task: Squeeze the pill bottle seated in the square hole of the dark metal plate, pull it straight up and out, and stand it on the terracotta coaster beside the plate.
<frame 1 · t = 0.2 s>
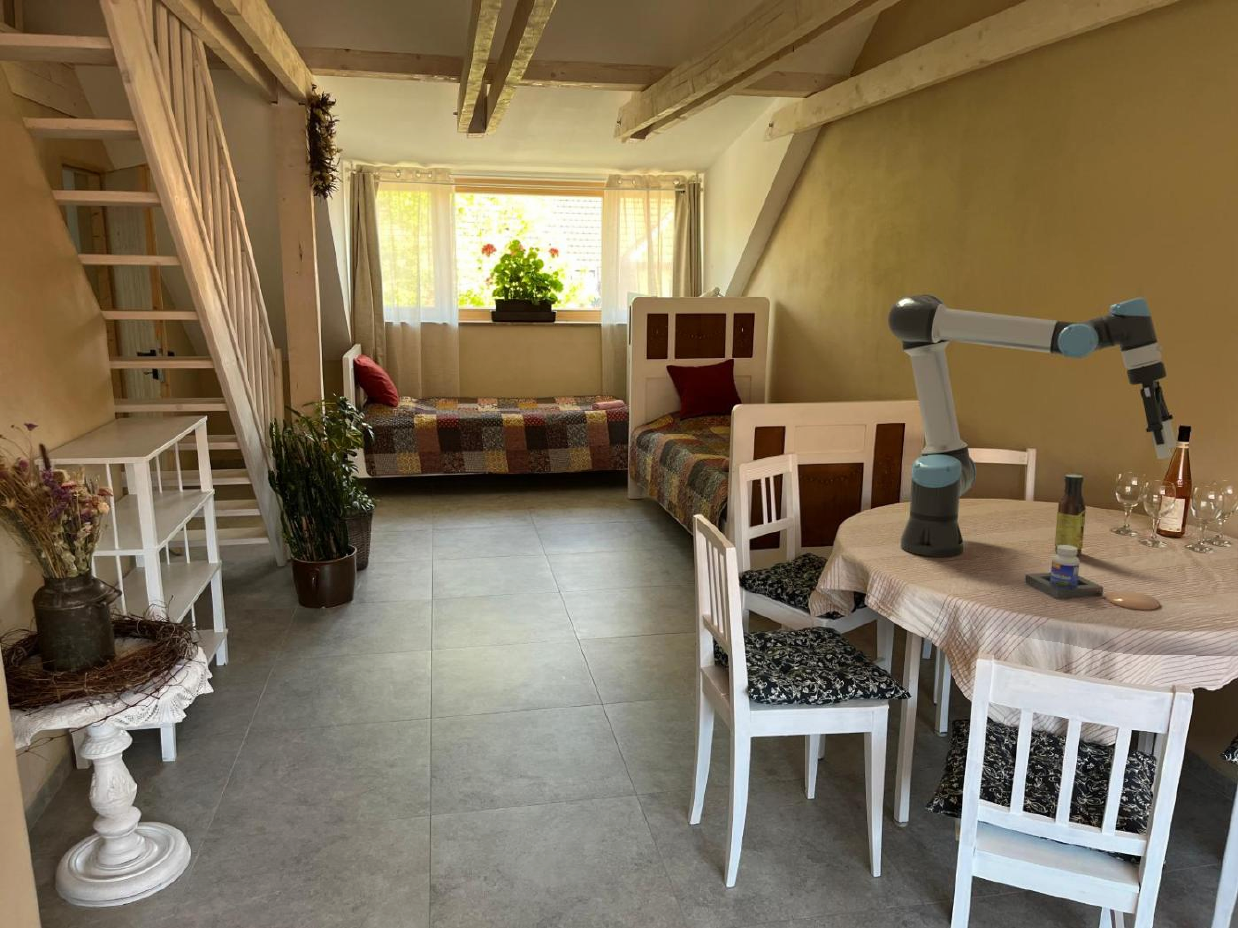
hand: (1167, 453, 206), 28 cm above the table, tool tilted 20°, fingers open, 13 cm apart
sauce bottle: (1067, 553, 222), on the table
pill bottle: (1062, 590, 196), resting in socket plate
socket plate: (1062, 589, 196), on the table
coaster: (1132, 601, 188), on the table
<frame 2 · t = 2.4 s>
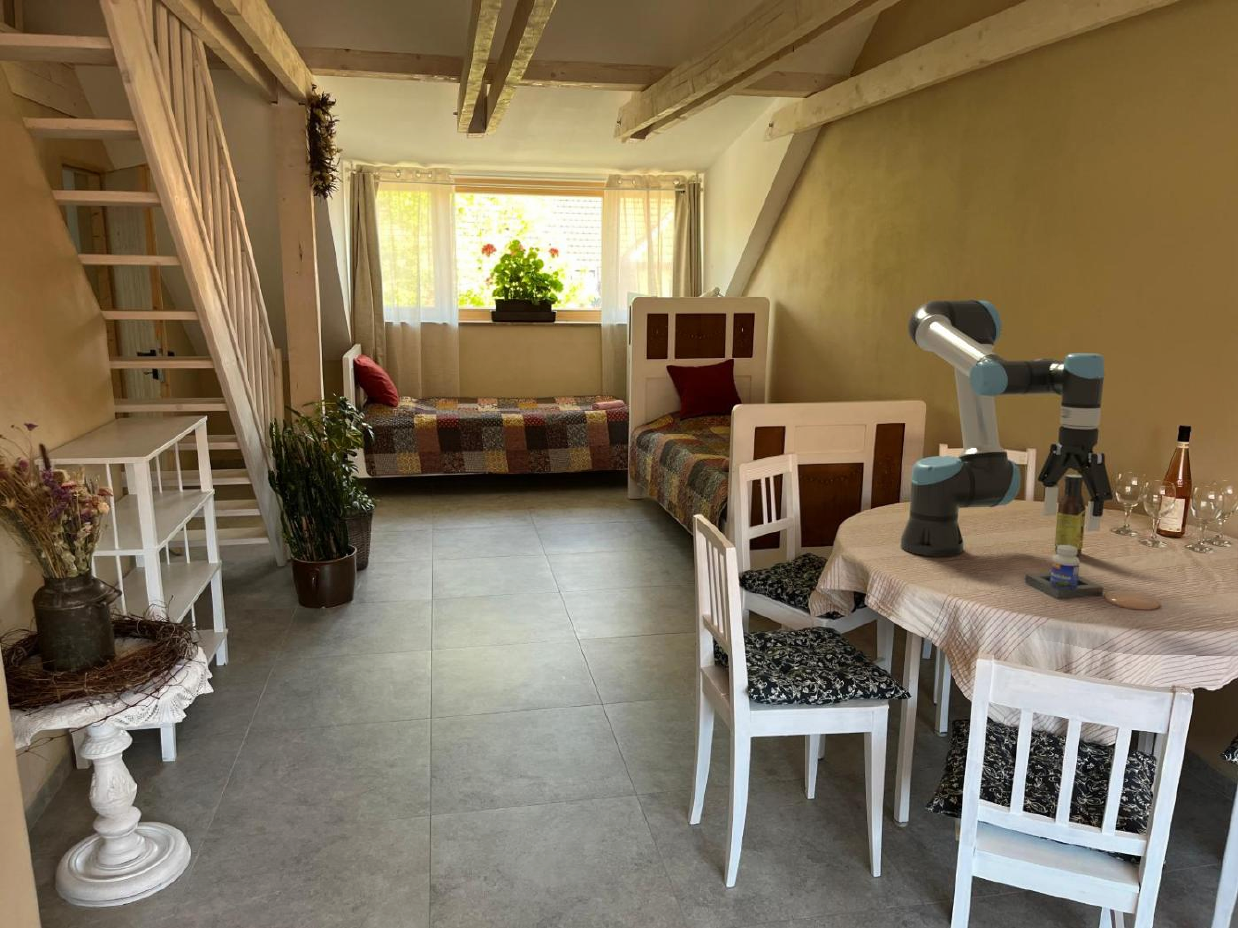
hand: (1070, 522, 193), 15 cm above the table, tool pointing down, fingers open, 13 cm apart
nothing on the table moved.
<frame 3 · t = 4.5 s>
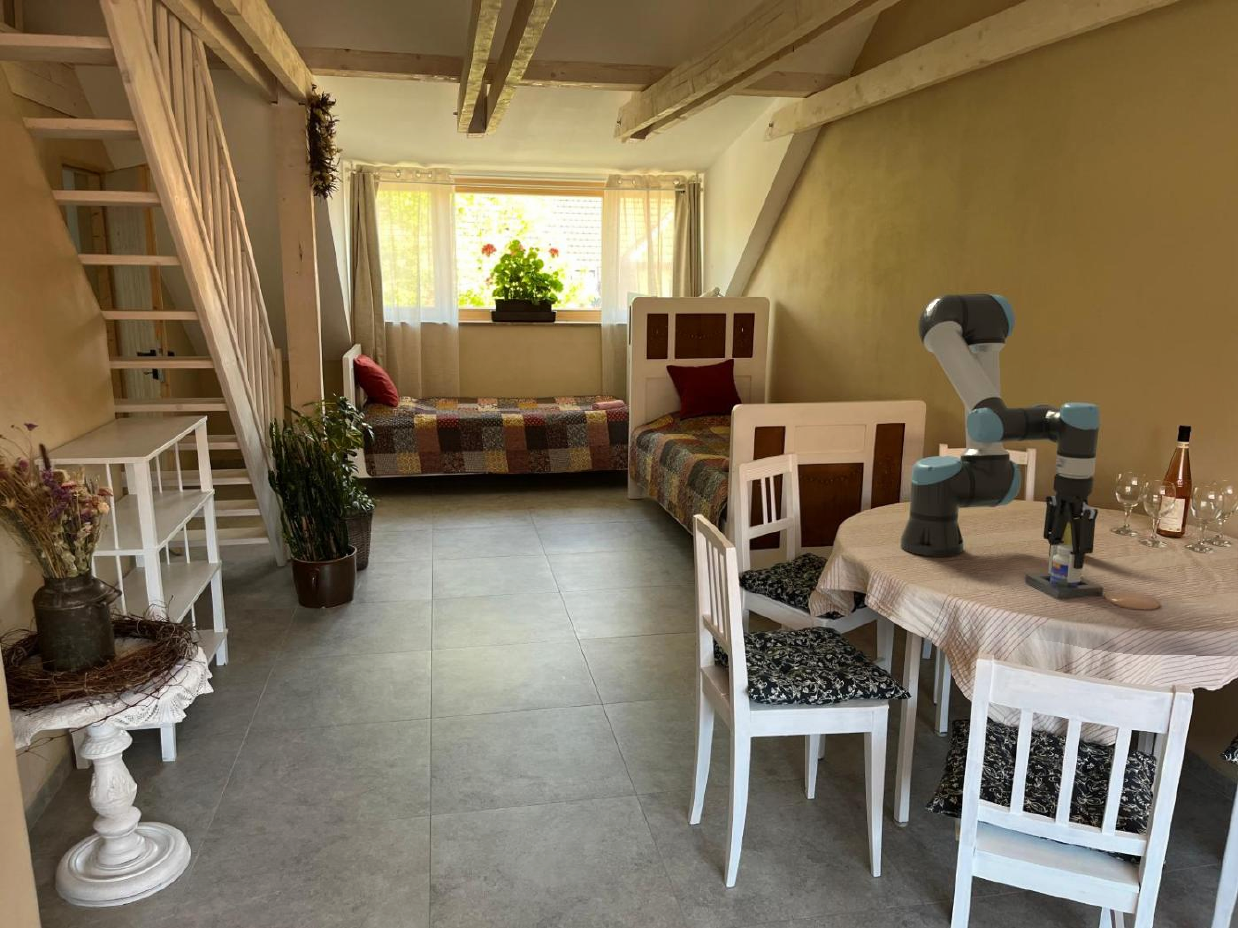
hand: (1063, 576, 196), 3 cm above the table, tool pointing down, fingers closed on pill bottle, 5 cm apart
pill bottle: (1062, 590, 196), resting in socket plate, touching gripper
everything else where it was.
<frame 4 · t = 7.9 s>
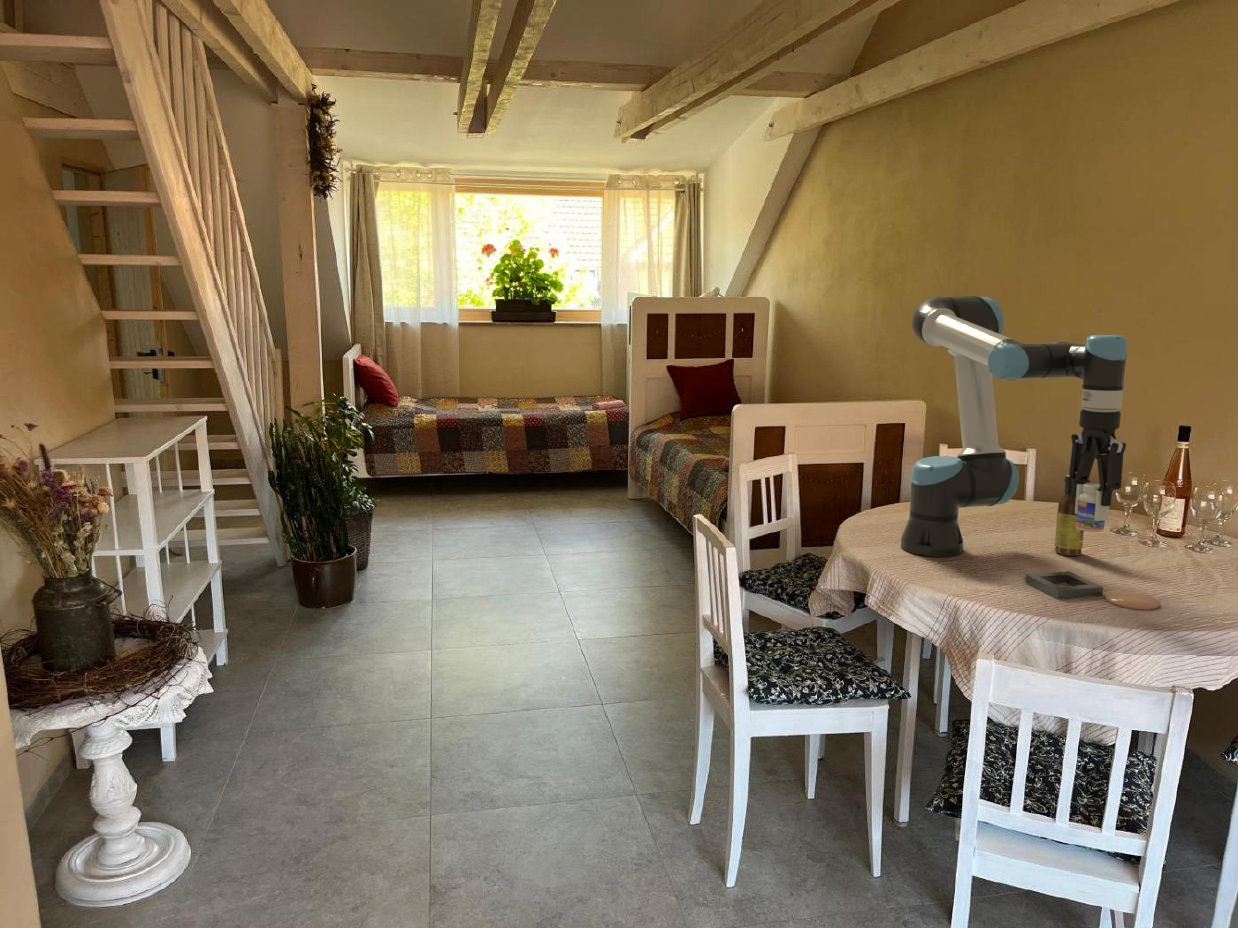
hand: (1091, 516, 190), 17 cm above the table, tool pointing down, fingers closed on pill bottle, 5 cm apart
pill bottle: (1089, 530, 191), point 14 cm above the table, touching gripper
everything else where it was.
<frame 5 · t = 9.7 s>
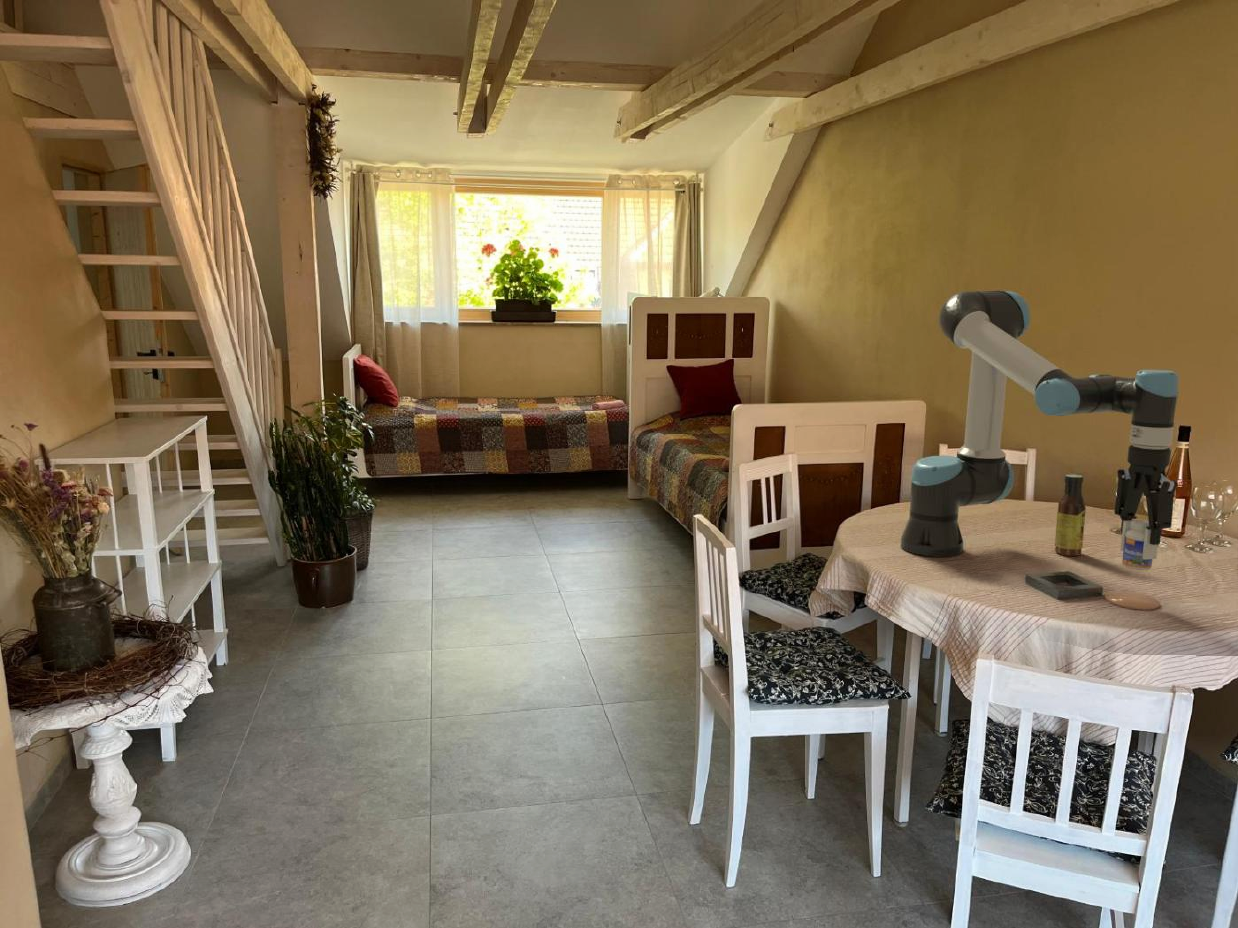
hand: (1138, 554, 186), 11 cm above the table, tool pointing down, fingers closed on pill bottle, 5 cm apart
pill bottle: (1136, 567, 187), point 8 cm above the table, touching gripper
everything else where it was.
when the fingers open (5 cm above the table, at t = 11.4 s): pill bottle drops 1 cm, resting on coaster.
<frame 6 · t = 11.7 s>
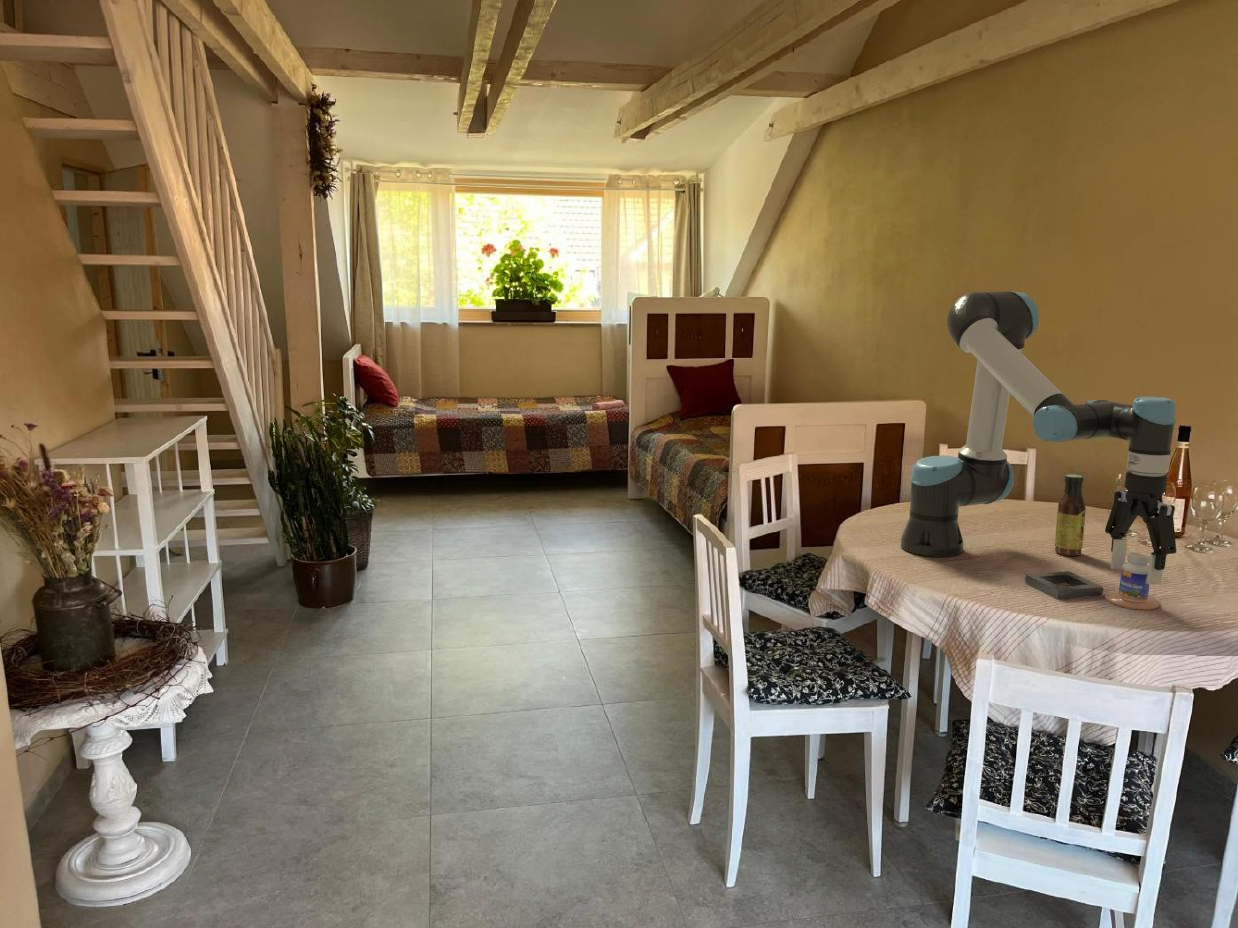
hand: (1135, 575, 187), 6 cm above the table, tool pointing down, fingers open, 9 cm apart
pill bottle: (1132, 599, 188), resting on coaster
everything else where it was.
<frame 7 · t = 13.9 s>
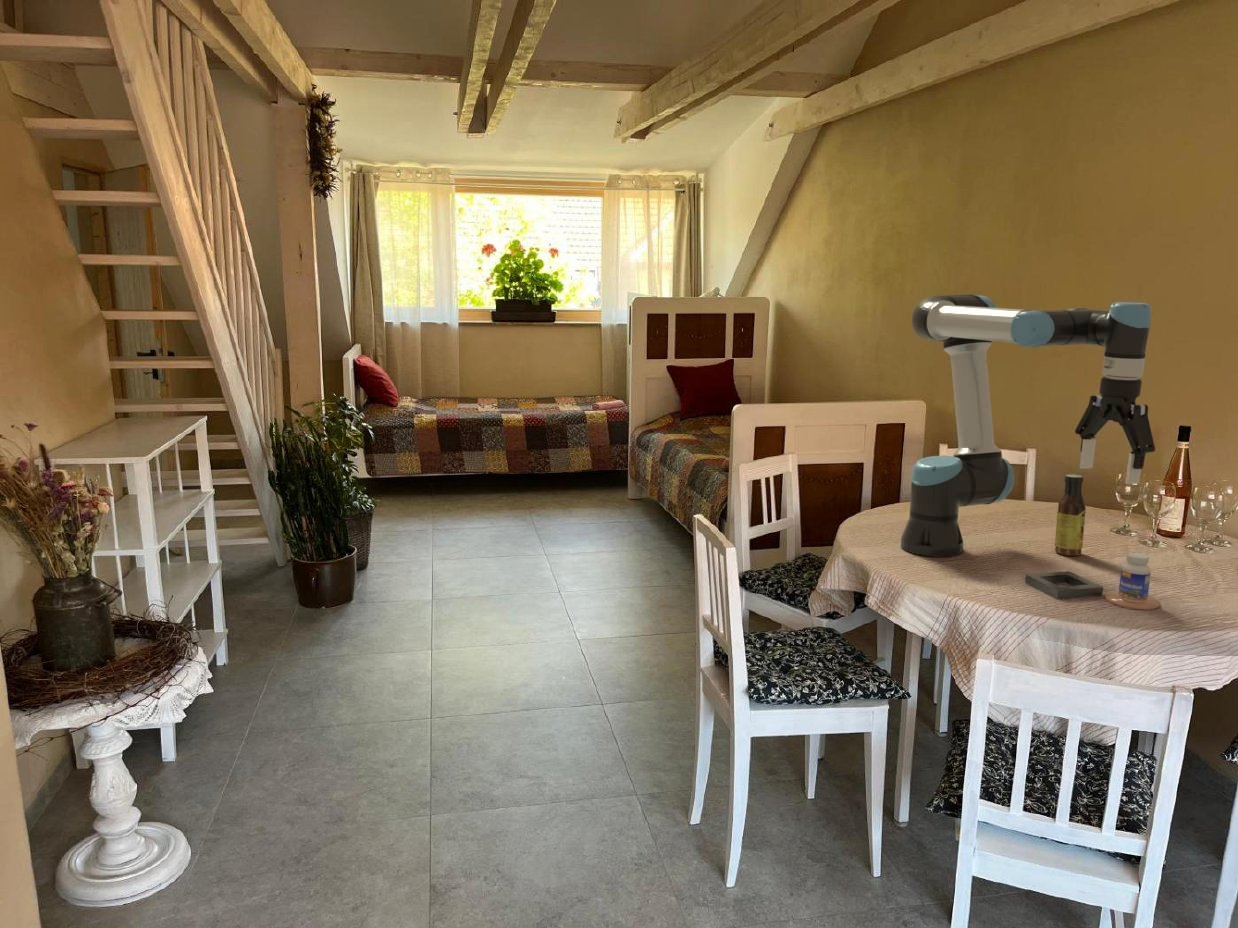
hand: (1108, 475, 190), 26 cm above the table, tool pointing down, fingers open, 13 cm apart
nothing on the table moved.
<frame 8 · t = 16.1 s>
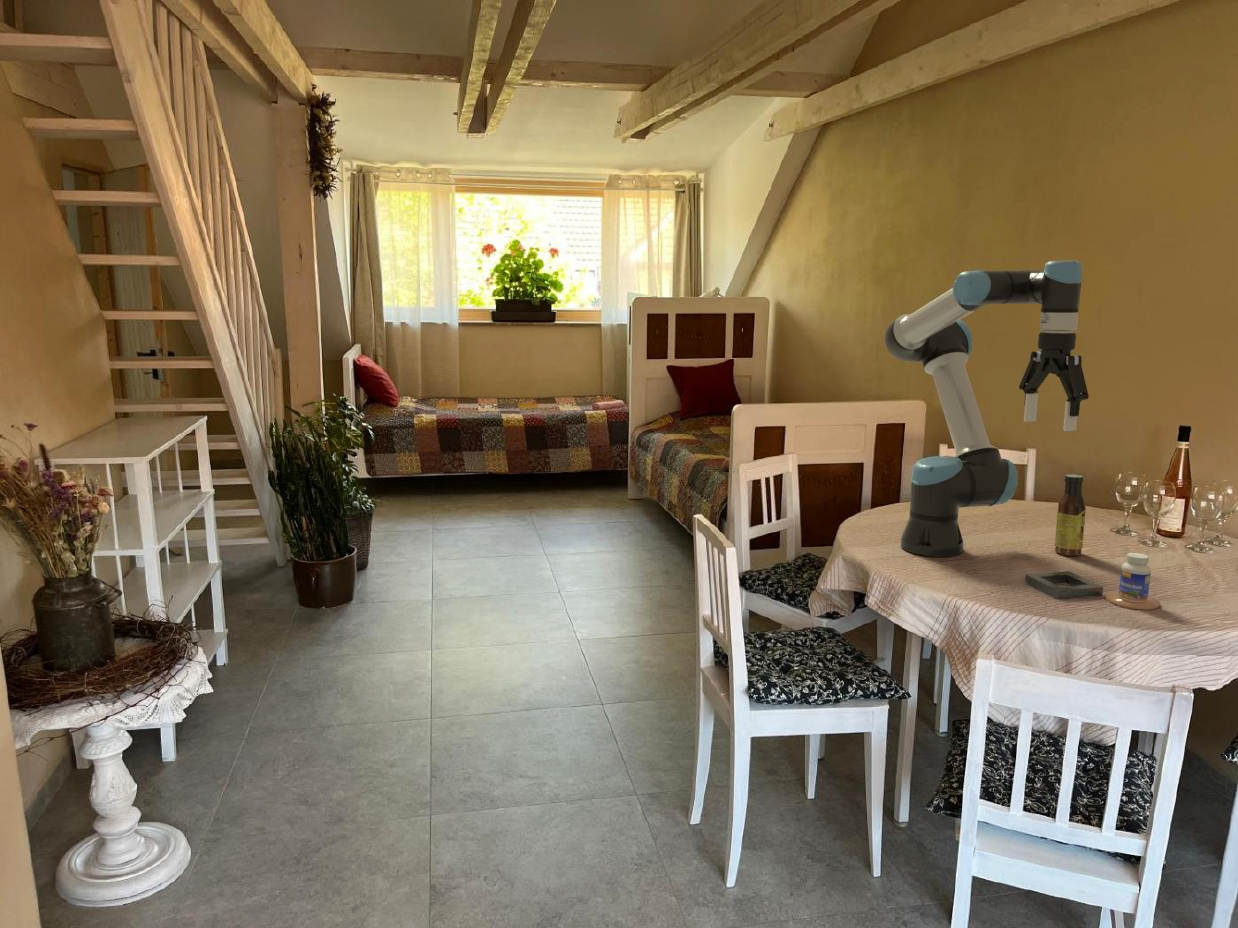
hand: (1049, 426, 201), 35 cm above the table, tool pointing down, fingers open, 13 cm apart
nothing on the table moved.
at the end: pill bottle 0.1 cm off-centre on the coaster, point 0.4 cm above the coaster's base; pill bottle tilted 0°; the gripper is holding nothing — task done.
